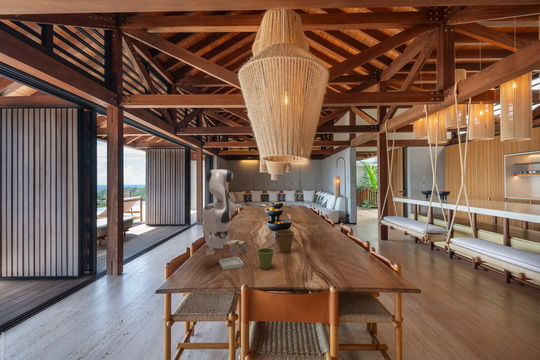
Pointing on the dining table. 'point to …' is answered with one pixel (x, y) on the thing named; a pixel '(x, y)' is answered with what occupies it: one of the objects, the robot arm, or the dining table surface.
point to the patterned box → (233, 248)
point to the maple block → (208, 251)
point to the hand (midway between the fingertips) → (209, 250)
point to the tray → (231, 263)
